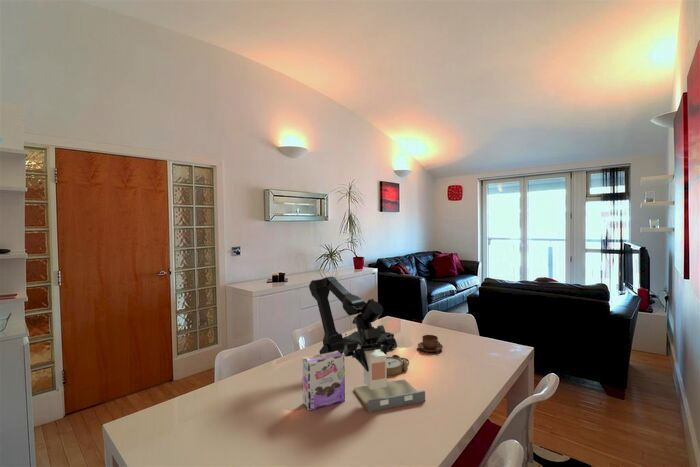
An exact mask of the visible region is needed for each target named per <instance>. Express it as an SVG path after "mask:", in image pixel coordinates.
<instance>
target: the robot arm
mask: <svg viewBox="0 0 700 467" xmlns="http://www.w3.org/2000/svg"><path fill="white" fill-rule="evenodd" d="M308 288H309V292H310V294H311V296H312V298H314V299H315V301H316V302H317V307H318V310H319V311H318V312H319V316H320V319H321V324H322V328H323V332H324V335H323V338H322V339H323V340H322V347H321V348H320V349H319V355H320V354H325V353H330V352H335V351H338V352H340V353H341V354H343V355H344V358H346V357H351V358H353V359H355V360H356V361H357V362H359V363H360V365H361V366H362V367H363V369H364V368H365V370H366V371H367V372H368V371H369V369H368V365H367V362H366V359H365V356H364V350H368V349H369V350H376V349H380V350H381V351H382V352H383V353H384V354H386V356H387V354H388V352H390V351H393V350H394V349H395V348H394V347H395V345H396V344H397V345H398V342H397V340H396V338H395V337H394V338H393V337H389V338H384V340H383V341H382V342H381V341H378V340H379V337H381V335H384V334H385V332H386V328H385V326H384V325H383V324H382V325H380V324H379V325H377V326H376V327H374V326H373V323H374V322H375V321H376V320H378V318H380V316H381V315H382V314H383V313H384V307H383V305H382V304H381V303H379V302H378V301H375V300H374V298H371V299H368V300H367V302H366V301H365V300H364V299H363V298H361V297H360V296H359V295H355V294H352V293H350V292H349V290H347V288H345V287H344V286H343V285H342V284H341V283H340V282H339V281H338V280H337V277H335V276H325V277H324V278H320V279H319V278H318V279H314V280H311V281H310V283H309V285H308ZM330 292H331V293H332V295H334V296H335V298H337V299H338V300H339V301H340V302H341V305H342V308H343V310H344V311H345V313H346V314H347V315H348V316H354V315H356V316H354V317H353V320H352V324H353V325H355V326H356V330H357V331H358V334H359V335H358V338H360V341H361V345H360V344H359V345H358V343H357V342H349V343H347V344H346V346H345V348H344V341H343V338H344V336H343V334H342V333H339V332H338V331H337V329H336V326H335V322H334V317H333V313H332V309H331V305H330V301H329V297H330V296H329V294H330ZM377 341H378V342H377ZM396 342H397V343H396ZM393 348H394V349H393ZM343 349H344V350H343Z"/></svg>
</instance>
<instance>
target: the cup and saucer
mask: <svg viewBox="0 0 700 467" xmlns="http://www.w3.org/2000/svg"><path fill="white" fill-rule="evenodd" d="M438 339H439V338H438V336H437V335H433V334H425V335H424V334H423V335H422V342H419V343H418V344H417V347H418V349H420V350H422V351H423V352H428V353H436V352H440V351H442V350H443V348H444V346H443V344H441V343H440V341H439V340H438Z"/></svg>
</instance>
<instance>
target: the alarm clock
mask: <svg viewBox="0 0 700 467" xmlns="http://www.w3.org/2000/svg"><path fill="white" fill-rule="evenodd" d="M386 360H387V376H395V375H398V374H401V373H402V372H403V371H404V372H405V371H407V370H408V367H409V366H410V360H409V358H407V357H401V356H400V355H399V354H393V355H391V356H386Z"/></svg>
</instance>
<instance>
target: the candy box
mask: <svg viewBox="0 0 700 467" xmlns="http://www.w3.org/2000/svg"><path fill="white" fill-rule="evenodd" d="M345 378H346V375H345V356H344V353H342V354H341V353H340V352H338V351H335V352H330V353H325V354H320V353H319V354H316V355H311V356H304V357H302V404H304V406H305V407H306V409H307V410H308V411H312V410H316V409H321V408H323V407H328V406H330V405H335V404H337V403H342V402H345V401H346V393H345V392H346V391H345V390H346V386H345V385H346V382H345V380H346V379H345Z"/></svg>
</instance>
